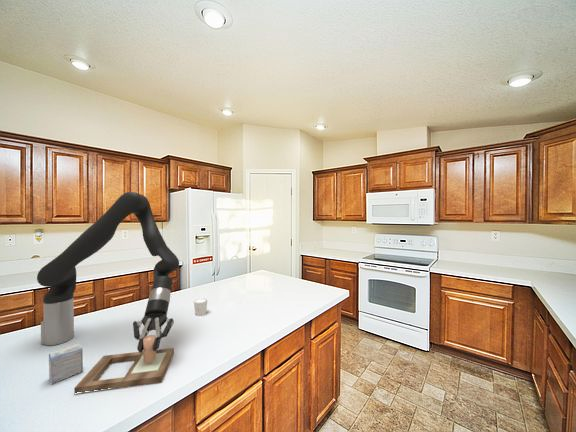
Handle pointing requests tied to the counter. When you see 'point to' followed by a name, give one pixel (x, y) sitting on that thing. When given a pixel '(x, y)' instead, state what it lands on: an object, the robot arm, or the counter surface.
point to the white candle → (200, 307)
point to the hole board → (136, 374)
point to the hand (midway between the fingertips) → (147, 350)
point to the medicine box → (65, 363)
